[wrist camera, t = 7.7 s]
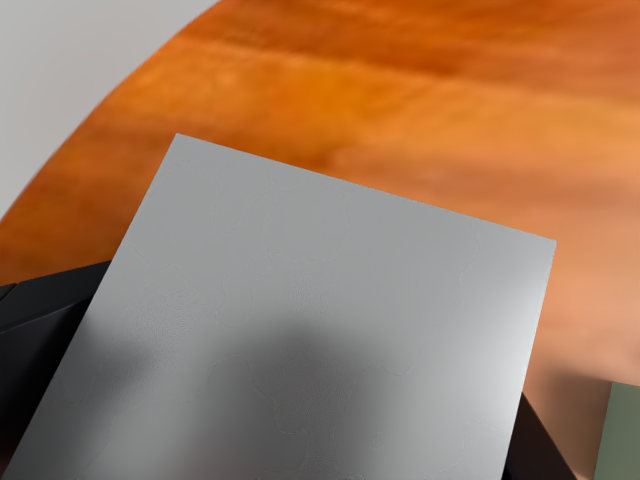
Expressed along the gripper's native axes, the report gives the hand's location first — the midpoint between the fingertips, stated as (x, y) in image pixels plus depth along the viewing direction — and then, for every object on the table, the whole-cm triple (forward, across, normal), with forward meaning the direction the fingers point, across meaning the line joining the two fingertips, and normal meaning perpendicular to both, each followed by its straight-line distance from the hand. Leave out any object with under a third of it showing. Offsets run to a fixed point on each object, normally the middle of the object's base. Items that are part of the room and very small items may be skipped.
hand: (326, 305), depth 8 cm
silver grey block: (+4, 0, +6) cm, 7 cm away
